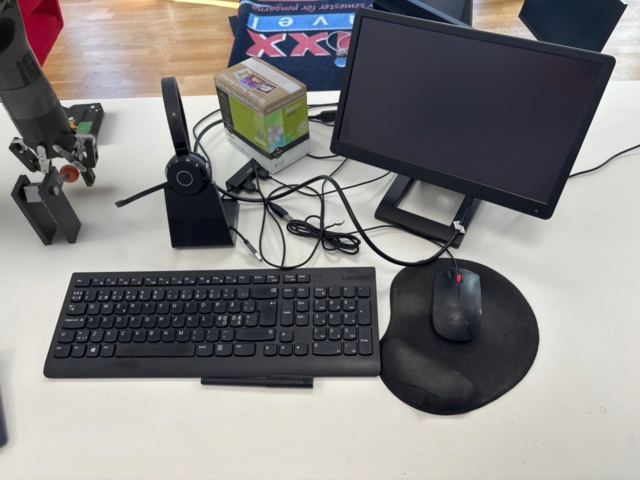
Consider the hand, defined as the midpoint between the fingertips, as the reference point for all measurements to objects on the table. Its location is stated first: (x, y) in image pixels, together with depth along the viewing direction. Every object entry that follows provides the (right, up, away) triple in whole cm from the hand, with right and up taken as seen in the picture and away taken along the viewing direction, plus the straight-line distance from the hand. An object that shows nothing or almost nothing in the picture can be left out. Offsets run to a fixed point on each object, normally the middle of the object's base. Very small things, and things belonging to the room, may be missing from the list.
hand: (75, 184), depth 92 cm
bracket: (+1, -10, -5) cm, 11 cm away
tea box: (+33, +8, +9) cm, 36 cm away
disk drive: (-7, +11, +14) cm, 20 cm away
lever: (0, -2, -7) cm, 7 cm away
